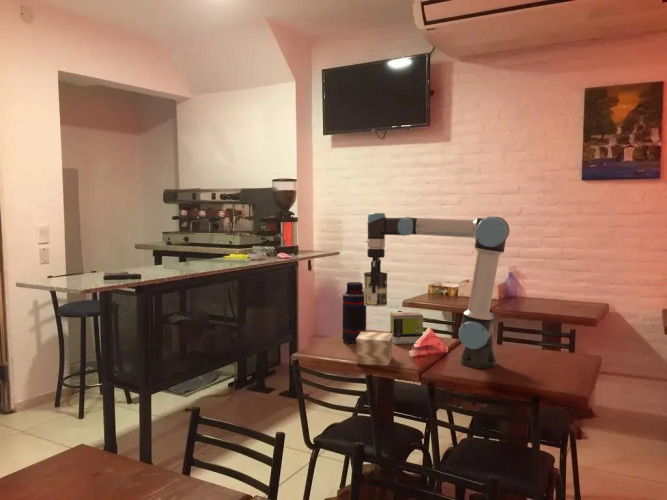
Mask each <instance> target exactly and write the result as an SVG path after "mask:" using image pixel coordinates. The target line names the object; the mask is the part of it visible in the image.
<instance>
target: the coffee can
mask: <svg viewBox="0 0 667 500" xmlns="http://www.w3.org/2000/svg"><path fill="white" fill-rule="evenodd" d="M363 277H364V278H363V279H364V280H363V289H364V291H363V292H364V305H366V307H375V308H377V307H378V308H379V307H386V306H387V305H388V272H384V271H383V272H382V271H381V272H380V273H378V274H377V301H371V286H369V284H370V280H371V271H367V272H364V273H363Z"/></svg>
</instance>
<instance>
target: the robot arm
mask: <svg viewBox="0 0 667 500" xmlns="http://www.w3.org/2000/svg"><path fill="white" fill-rule="evenodd" d="M367 215H368V216H367V240H366V243H367V253H366V254H367V258H372V261H370V272H371V280H370V284H369V286H371V301H377V274H378V273H380V272H382V271H381V263H382V262H381V261H382V260H381V259H382V258H383V259H384V258H385V254H386V253H385V252H386V251H385V249H384V248H385V247H386V239H385V238H386V236H402V237H404V236H406V237H407V236H411V235H415V236H416V235H420V236H434V237H435V236H436V237H454V238H467V239H468V238H472V239H474V240H475V243H474V249H475V251H476V252H477V253H476V261H475V265H474V272H473V278H472V283H471V290H470V295H469V299H468V300H469V301H468V306H467V309H466V310H465V311H463V314H462V320H461V325H460V326H459V328H458V331H457V333H458V339H459V341H460V343H461V345H463V346H464V347H463V350H462V353H461V356H460V364H462V365H463V366H466V367H468V368H469V367H470V368H474V369H490V368H491V369H492V368H495V367H496V366H497V357H496V354H495V351H494V345H493V344H494V321H495V318H494V313H492V312H490V309H491V303H492V299H493V293H494V287H495V283H496V282H495V280H496V277H497V270H498V265H499V260H500V256H501V255H503V254H504V253H505V247H506V241H507V239H508V238H509V235H510V226H509V224H508V221H506V220H505V219H504V218H502V217H500V216H486V217H482V218H481V217H477V218H476V219H455V218H454V219H453V218H452V219H451V218H431V217H430V218H429V217H427V218H426V217H410V216H405V217H386V214H385V213H384V212H371V213H369V214H367Z"/></svg>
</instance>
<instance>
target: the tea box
mask: <svg viewBox="0 0 667 500" xmlns="http://www.w3.org/2000/svg"><path fill="white" fill-rule="evenodd" d="M389 315H390V327H389V328H390V332H389V333H393V337H392V344H394V345H396V344H398V345H402V344H415V343H414V342H416V341H417V340H418V339H419V338H420V337H421V336H422V335H423V336H424V316H423V314H422V313H421V312H419V311H391V312H390V314H389Z"/></svg>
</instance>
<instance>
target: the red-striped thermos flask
mask: <svg viewBox="0 0 667 500" xmlns="http://www.w3.org/2000/svg"><path fill="white" fill-rule="evenodd" d="M366 330H367V306H366V305H364V283H362V282H361V281H359V282H356V281H355V282H353V281H352V282H351V281H350V282H347V283H346V291H345V292H344V293H343V294H342V337H341V339H342V341H344V342H345V344H350V343H357V341H356V338H357V337H358V335H359V334H360V333H361V332H367V331H366Z"/></svg>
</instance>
